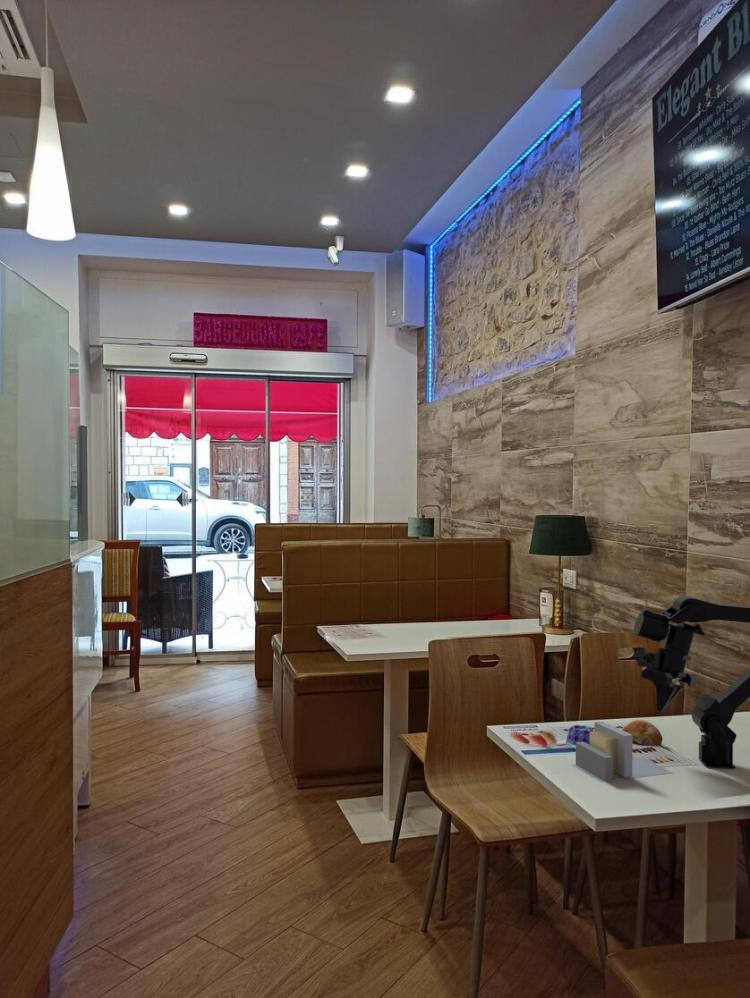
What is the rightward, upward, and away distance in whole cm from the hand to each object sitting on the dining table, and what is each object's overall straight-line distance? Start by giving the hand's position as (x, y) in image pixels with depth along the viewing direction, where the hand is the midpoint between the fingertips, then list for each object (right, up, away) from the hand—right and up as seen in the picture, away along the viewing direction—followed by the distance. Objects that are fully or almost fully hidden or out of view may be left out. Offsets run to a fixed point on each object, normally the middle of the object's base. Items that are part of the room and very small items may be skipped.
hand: (659, 710), depth 177 cm
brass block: (-17, -10, -11) cm, 23 cm away
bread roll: (0, -13, +13) cm, 18 cm away
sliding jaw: (-14, -10, -10) cm, 20 cm away
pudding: (-16, -13, +10) cm, 23 cm away
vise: (-12, -12, -10) cm, 19 cm away
